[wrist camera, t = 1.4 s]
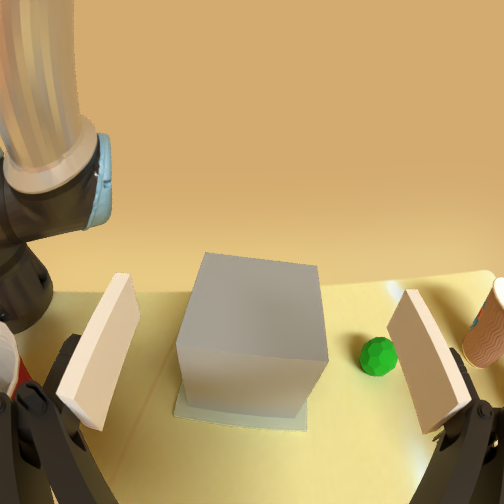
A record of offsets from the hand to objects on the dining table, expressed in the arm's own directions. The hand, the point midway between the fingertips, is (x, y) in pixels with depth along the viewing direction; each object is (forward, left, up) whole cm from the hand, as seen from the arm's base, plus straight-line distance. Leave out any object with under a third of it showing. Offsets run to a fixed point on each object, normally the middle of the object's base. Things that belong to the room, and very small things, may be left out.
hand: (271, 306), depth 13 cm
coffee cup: (+33, +21, -20) cm, 44 cm away
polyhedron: (+13, +14, -21) cm, 28 cm away
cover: (-2, +8, -20) cm, 21 cm away
